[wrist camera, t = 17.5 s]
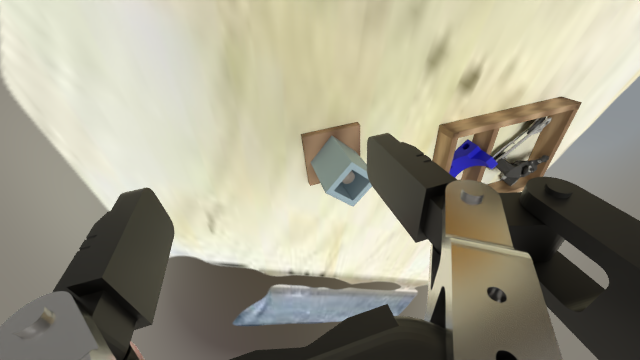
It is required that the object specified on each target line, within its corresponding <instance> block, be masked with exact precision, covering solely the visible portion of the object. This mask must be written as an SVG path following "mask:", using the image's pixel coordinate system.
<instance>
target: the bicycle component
mask: <svg viewBox="0 0 640 360" xmlns="http://www.w3.org/2000/svg"><path fill="white" fill-rule="evenodd" d="M545 118H546V117H541V118H538V119H537V120H535V121H534V122H533V123H532V124H531V125H530V126H529V127H528V128H527V129H526V130H525V131H524V132H522V133H521V134H520V135H519V136H517V137H516V138H515V139H514V140H513V141H510V142H509V143H508V144H507V145H506V146H504V147H503V148H502V149H501V150H500V151H499V152H497V153H496V154H495V155H494V156H493V158H494V160H495V161H496V162H497V163H498V165H496V166H495V167H497V168H498V169H499V170H500V171H501V172H502V173H501V174H500V175H501V176H502V178H501V180H503V181H504V182H505V183H507V184H508V185H509V186H512V185H513V184H515V183H516V182H517V181H518V179H519V178H521V177H525V176H527V175H530V173H533V172H534V171H536V170H537V165H538V164H540V163H542V162H547V160H549V156H546V155H543V156H542V157H541V158H539V159H536V160H529V161H520V160H519V161H516V162H515V163H513V164H510V163H508V162H507V161H506V160H505V159H507V158H508V157H506V156H507V155H508V154H509V153H510V152H511V151H512V150H514V149H515V148H516V147H517V146H519V145H520V144H521V143H522V142H523V141H525V140H526V139H527V138H528V137H530V136H531V135H533V134H535V133H538V132H541V131H542V129H543V128H544V127H545V126H546V125H547V124H548V123H550V121H551V119H552V117H550V118H547V119H546V120H545ZM538 120H539V121H538ZM544 120H545V121H544ZM544 123H545V124H544ZM543 124H544V125H543ZM542 125H543V126H542ZM527 130H529V131H528V132H527V134H528V135H527V136H525V137H524V138H523V139H522V140H520V141H519V142H518V143H517V144H515V145H514V146H513V147H512V148H511V149H509V150H508V151H507V152H504V153H502V152H503V150H504V149H506V148H507V147H508V146H509V145H510V144H512V143H513V144H514V141H515V140H516V139H518V138H519V137H520V136H521V135H523V134H524V133H525V132H526V131H527ZM501 153H502V154H501ZM504 158H505V159H504ZM495 167H494V168H495ZM494 168H493V169H494ZM489 170H492V169H490V168H489Z"/></svg>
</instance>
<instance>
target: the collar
mask: <svg viewBox="0 0 640 360" xmlns="http://www.w3.org/2000/svg"><path fill="white" fill-rule="evenodd" d="M311 164H312V166H313V168H314V170H315V173H316V175H317V177H318V179H319V181H320V183H321V185H322V187H323V189H324V191H325V193H327V194H329V195H331V196H333V197H335V198H337V199H339V200H341V201H343V202H345V203H347V204H349V205H351V206H354V205H355V204H356V203H357V202H358V201H359V200H360V199H361V198H362V197H363V196H364V194H365V193H366V192H367V191H368V190H369V189H370V188H371V187H372V185H371V183H370V181H369V179H368V175H367V164H366V163H365V162H364V161H363V160H362V158H361V157H360V156H359V155H358V154H357V152H356V151H354V150H353V149H351V148H350V147H348V146H347V145H345V144H344V143H342V142H341V141H339V140H338V139H336V138H335V137H333V136H331V137H330V138H329V140H328V141H327V142H326V143H325V145H324V146H323V147H322V149H321V150H320V151H319V152H318V154H317V155H316V156H315V157H314V159H313V160H312V161H311ZM351 170H352V172H353V173H354V175H355V178H354V180H353V181H352V182H351V183H349V184H344V183H343V182H342V181H343V179H344V178H345V177H346V176H347V175H348V174H349V173H350V171H351Z"/></svg>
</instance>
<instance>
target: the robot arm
mask: <svg viewBox="0 0 640 360" xmlns="http://www.w3.org/2000/svg"><path fill="white" fill-rule="evenodd" d="M367 175H368V179H369V181H370V183H371V185H372V186H373V188H374V189H375V190H376V192H377V193H378V194H379V195H380V197H381V198H382V199H383V201H384V202H385V203H386V205H387V206H388V207H389V208H390V210H391V211H392V212H393V214H394V215H395V216H396V218H397V219H398V220H399V221H400V223H401V224H402V225H403V227H404V228H405V229H406V231H407V232H408V233H409V234H410V236H411V237H412V238H413V240H414V241H415V242H416V243H417V242H420V241H423V240H426V239H428V240H429V241H430V242H431V243H432V245H431V249H430V266H429V285H428V300H427V307H426V312H425V320H422V319H417V318H413V317H405V316H393V314H392V312H391V310H390V308H389V306H388V304H386V305H383V306H380V307H378V308H375V309H372V310H369V311H366V312H363V313H361V314H358V315H355V316H352V317H349V318H347V319H345V320H344V321H342V322H341V323H340V324H338V325H337V326H335V327H334V328H333V329H331V330H330V331H328V332H327V333H326V334H324V335H323V336H321V337H320V338H318V339H317V340H316V341H314V342H313V343H311V344H310V345H308V346H306V347H302V348H288V349H271V350H256V351H253V352H250V353H247V354H244V355H241V356H239V357H236V358H233V359H230V360H563V358H562V355H561V352H560V349H559V345H558V342H557V339H556V336H555V332H554V329H553V326H552V323H551V319H550V316H549V313H548V310H547V307H548V308H549V309H550V310H551V311H552V312H553V313H554V314H555V315H556V316H557V317H558V318H559V319H560V320H561V321H562V322H563V323H564V324H565V325H566V327H567V328H568V329H569V330H570V331H571V332H572V333H574V335H575V336H576V337H577V338H578V339H579V340H580V341H581V342H582V343H583V344H584V345H585V346H586V347H587V348H588V349H589V350H590V351H591V352H592V353H593V354H594V355H595V356H596V357H597V359H598V360H640V221H639V220H637V219H635V218H634V217H632V216H630V215H628V214H627V213H625V212H623V211H621V210H619V209H618V208H616V207H614V206H612V205H611V204H609V203H607V202H605V201H604V200H602V199H600V198H598V197H597V196H595V195H593V194H591V193H589V192H588V191H586V190H584V189H582V188H580V187H579V186H577V185H575V184H573V183H570V182H568V181H565V180H562V179H558V178H552V177H535V178H532V179H530V180H529V181H528V182H527V183H526V185H525V187H524V189H523V191H522V192H510V193H498V192H497V191H496V190H494V189H493V188H492V187H490V186H488V185H486V184H484V183H481V182H478V181H474V180H457V179H456V178H454V177H453V176H452V175H450V174H449V173H448V172H447V171H445V170H444V169H443V168H441V167H440V166H439V165H438V164H436V163H435V162H434V161H431V159H430V158H429V157H427V156H426V155H424V153H422V152H421V151H420V150H418V149H417V148H416V147H414V146H412V145H409V144H407V143H404V142H401V143H400V142H399V141H398V140H397V139H395V138H394V137H393V136H392V135H391V134H389V133H385V134H381V135H376V136H372V137H369V138H368V142H367ZM173 238H174V226H173V223H172V221H171V219H170V217H169V215H168V214H167V212H166V211H165V209H164V208H163V206H162V204H161V203H160V201H159V200H158V198H157V196H156V195H155V193H154V192H153V191H152V190H151V189H150V188H143V189H138V190H134V191H130V192H125V193H122V194H121V195H120V196H119V198H118V200H117V201H116V203H115V205H114V206H113V208H112V210H111V211H109V212H107V213H106V214H105V215H104V216H103V217H102V218H101V219H100V220H99V221H98V222H97V223H95V224H94V226H93V227H92V229H91V231H90V233H89V234H88V236H87V240H85V241H84V242H83V244H82V245H81V247H80V248H79V249H80V251H78V252H77V253H76V255H75V256H74V258H73V260H72V261H71V263H70V264H69V266H68V268H67V269H66V271H65V273H64V274H63V276H62V278H61V279H60V281H59V282H58V284H57V285H56V287H55V289H54V290H53V292H52V293H49V294H46V295H44V296H41V297H39V298H37V299H35V300H33V301H31V302H30V303H28V304H26V305H25V306H23V307H22V308H20V309H19V310H18V311H17V312H15V313H14V314H13V315H12V316H10V317H9V318H8V319H7V320H6V321H5V322H4V323H3V324H2V325H1V326H0V360H145V359H144V357H143V356H142V354H141V353H140V351H139V350H138V349H137V347H136V345H135V344H134V343H133V342H131V338H132V334H133V331H134V330H136V329H139V328H143V327H146V326H149V325H152V323H153V319H154V315H155V311H156V307H157V303H158V299H159V295H160V291H161V286H162V282H163V279H164V275H165V271H166V266H167V263H168V258H169V254H170V250H171V246H172V242H173ZM564 240H567V241H568V242H569V243H571V244H572V245H573V246H575V247H576V248H577V249H579V250H580V251H581V252H582V253H584V254H585V255H586V256H588V257H589V258H590V259H592V260H593V261H594V262H596V263H597V264H598V265H599V266H601V267H602V268H603V269H604V270H605V272H606V274H607V275H608V278H609V286H608V287H607V289H604V288H603V287H601V286H600V285H599V284H598V283H596V282H595V281H594V280H593V279H592V278H590V277H589V276H588V275H586V274H585V273H584V272H583V271H582V270H580V269H579V268H578V267H577V266H576V265H574V264H573V263H572V262H571V261H569V260H568V259H567V258H566V257H564V256H563V255H562V254H561V253H559V252H558V251H557V250H558V249H559V247H560V246H561V244H562V243H563V242H564Z"/></svg>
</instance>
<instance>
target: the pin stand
mask: <svg viewBox="0 0 640 360" xmlns="http://www.w3.org/2000/svg"><path fill="white" fill-rule="evenodd" d="M301 136H302V143H303V149H304V155H305V162H306V168H307V174H308V181H309V184H310V186H311V185H315V184H319V183H320V181H319V179H318V177H317V175H316V173H315V170H314V168H313V166H312V164H311V161H312V160H313V159H314V157H315V156H316V155H317V154H318V152H319V151H320V150H321V149H322V147H323V146H324V145H325V143H326V142H327V141H328V140H329V138H330V137H331V136H333V137H335V138H336V139H338V140H339V141H341V142H342V143H344V144H345V145H347V146H348V147H350V148H351V149H353V150H354V151H356V152H357V154H358V155H359V156H360V124H359V123H358V122H356V123H351V124H346V125H342V126H337V127H333V128H328V129H323V130H319V131H314V132H309V133H305V134H301ZM354 178H355V175H354V173H353V172H352V170H351V171H350V173H349V174H348V175H347V176H346V177H345V178H344V179H343V181H342V182H343V183H344V184H349V183H351V182H352V181H353V180H354Z"/></svg>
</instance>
